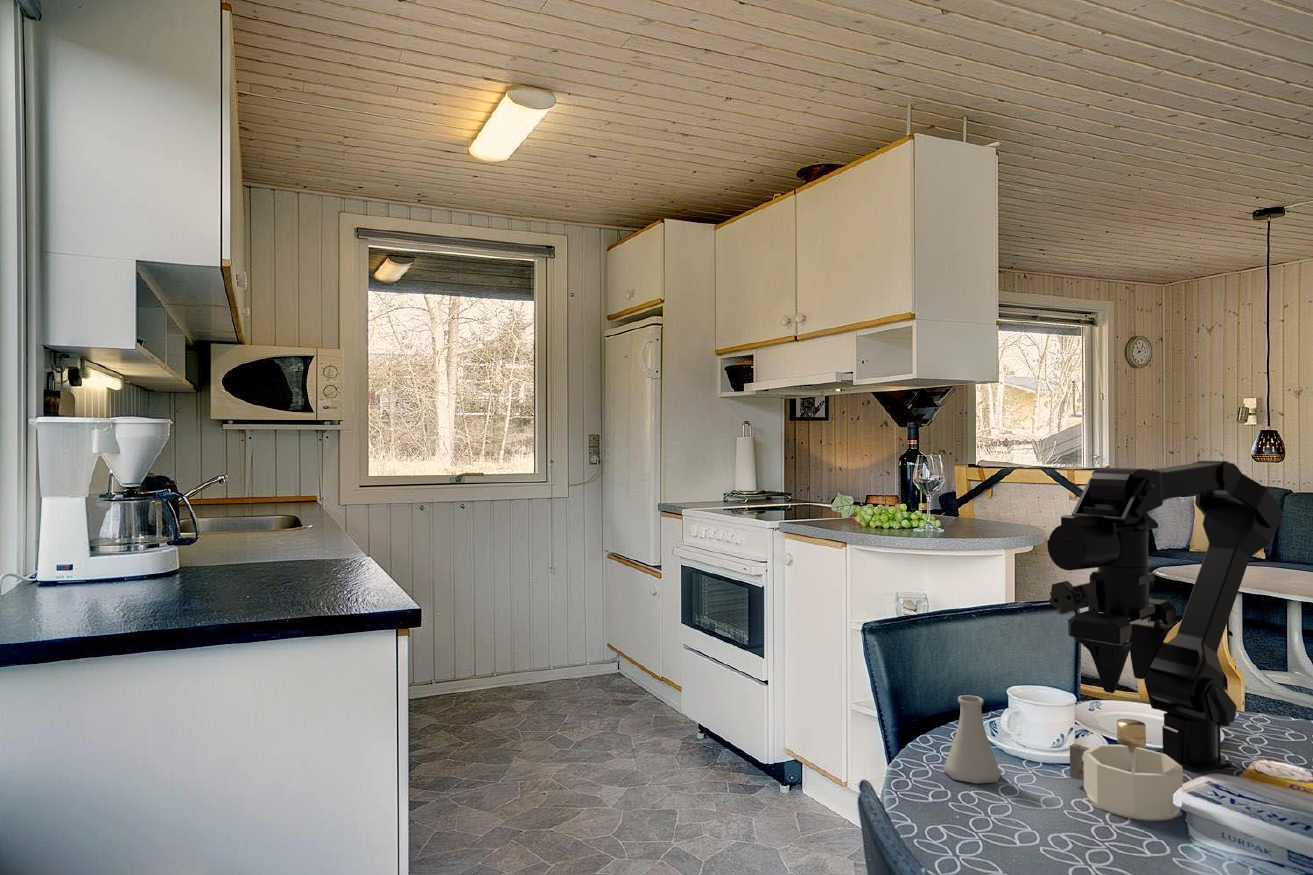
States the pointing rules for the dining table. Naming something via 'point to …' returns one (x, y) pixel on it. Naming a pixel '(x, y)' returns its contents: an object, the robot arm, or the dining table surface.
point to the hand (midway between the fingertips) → (1124, 685)
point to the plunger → (1131, 738)
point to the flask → (971, 746)
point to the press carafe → (1128, 781)
